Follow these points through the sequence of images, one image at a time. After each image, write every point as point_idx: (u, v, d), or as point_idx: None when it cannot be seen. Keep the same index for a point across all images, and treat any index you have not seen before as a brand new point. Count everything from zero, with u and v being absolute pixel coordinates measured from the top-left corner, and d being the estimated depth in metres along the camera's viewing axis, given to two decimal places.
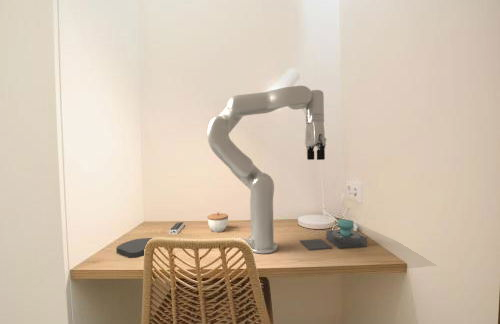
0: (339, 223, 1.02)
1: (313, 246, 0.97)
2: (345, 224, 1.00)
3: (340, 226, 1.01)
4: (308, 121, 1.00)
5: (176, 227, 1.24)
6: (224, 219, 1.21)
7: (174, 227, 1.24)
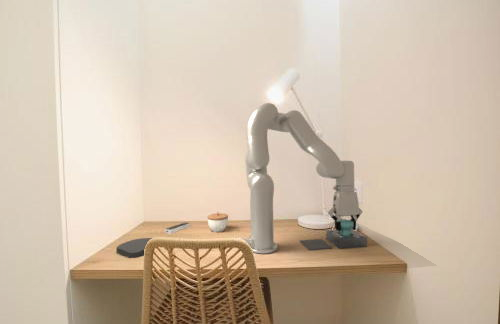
0: None
1: (313, 246, 0.97)
2: (345, 224, 1.00)
3: None
4: (352, 191, 0.99)
5: (174, 227, 1.24)
6: (224, 219, 1.21)
7: (173, 227, 1.25)
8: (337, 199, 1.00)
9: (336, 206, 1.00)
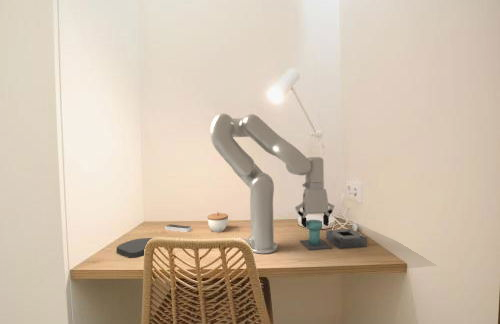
0: (307, 224, 1.00)
1: (313, 246, 0.97)
2: (313, 225, 0.98)
3: (308, 227, 0.99)
4: (321, 188, 0.97)
5: (173, 226, 1.27)
6: (224, 219, 1.21)
7: (174, 225, 1.28)
8: (306, 196, 0.98)
9: (305, 203, 0.98)
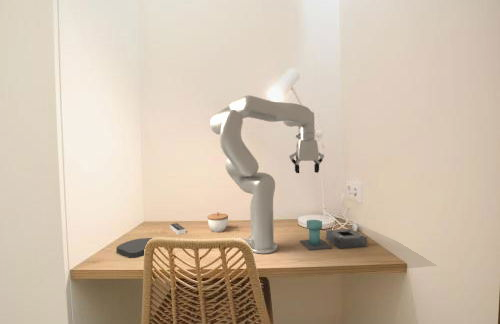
0: (307, 224, 1.00)
1: (313, 246, 0.97)
2: (313, 225, 0.98)
3: (308, 227, 0.99)
4: (312, 138, 1.10)
5: (175, 225, 1.28)
6: (224, 219, 1.21)
7: (177, 225, 1.29)
8: (298, 145, 1.11)
9: (298, 152, 1.11)
